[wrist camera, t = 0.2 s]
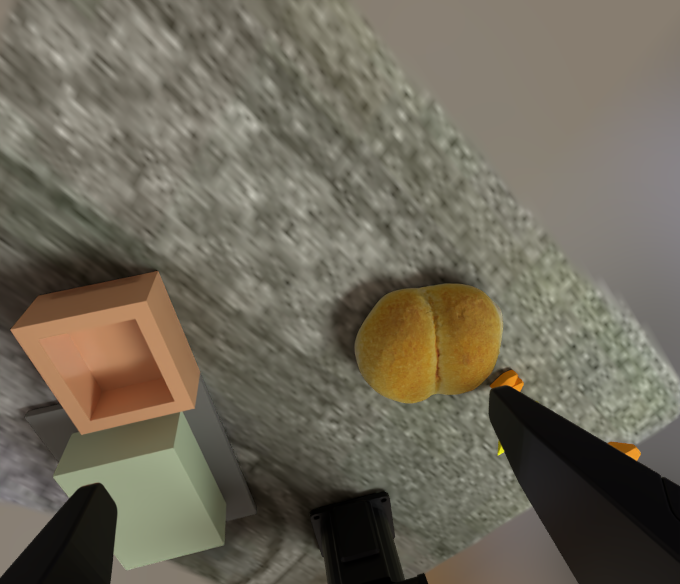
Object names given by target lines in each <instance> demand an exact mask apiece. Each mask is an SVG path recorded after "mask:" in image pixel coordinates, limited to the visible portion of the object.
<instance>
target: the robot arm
mask: <svg viewBox="0 0 680 584" xmlns="http://www.w3.org/2000/svg"><path fill="white" fill-rule="evenodd" d="M489 418H490V422H491V424H492V426H493V428H494V430H495V433H496V435H497V437H498V439H499V441H500V443H501V446H502V448H503V450H504V452H505V454H506V457H507V459H508V461H509V463H510V465H511V467H512V470H513V472H514V474H515V476H516V478H517V480H518V482H519V484H520V486H521V487H522V489H523V491H524V493H525V494H526V496H527V498H528V499H529V501H530V503H531V504H532V506H533V508H534V509H535V511H536V513H537V514H538V516H539V518H540V519H541V521H542V523H543V524H544V526H545V528H546V530H547V531H548V533H549V535H550V536H551V538H552V540H553V541H554V543H555V545H556V546H557V548H558V550H559V551H560V553H561V555H562V556H563V558H564V560H565V561H566V563H567V565H568V566H569V568H570V570H571V572H572V573H573V575H574V577H575V578H576V580H577V582H578V583H579V584H680V486H679V485H677V484H676V483H674V482H672V481H670V480H669V479H667V478H665V477H662V478H661V475H660V474H658V473H657V472H655V471H653V470H651V469H650V468H648V467H647V466H645V465H643V464H641V463H640V462H638V461H636V460H635V459H633V458H631V457H630V456H628V455H626V454H625V453H623V452H621V451H619V450H618V449H616V448H614V447H613V446H611V445H609V444H608V443H606V442H604V441H603V440H601V439H599V438H597V437H596V436H594V435H592V434H591V433H589V432H587V431H586V430H584V429H582V428H580V427H579V426H577V425H575V424H574V423H572V422H570V421H569V420H567V419H565V418H563V417H562V416H560V415H558V414H557V413H555V412H553V411H552V410H550V409H548V408H547V407H545V406H543V405H541V404H540V403H538V402H536V401H535V400H533V399H531V398H530V397H528V396H526V395H524V394H523V393H521V392H519V391H518V390H516V389H514V388H513V387H511V386H508V385H503V386H499V387H495V388H492V389H491V390H490V394H489ZM117 515H118V511H117V506H116V503H115V501H114V500H113V499H112V497H111V496H110V494H109V493H108V491H107V490H106V488H105V487H104V485H103V484H101V483H99V482H98V483H93V484H88V485H84V486H81V487H80V488H78V489H77V490H76V491H75V492H74V494H73V495H72V496H71V497H70V498H69V499H68V500H67V502H66V503H65V504H64V505H63V506H62V507H61V508H60V510H59V511H58V512H57V513H56V514H55V515H54V516H53V518H52V519H51V520H50V521H49V522H48V523H47V525H46V526H45V527H44V528H43V529H42V530H41V531H40V533H39V534H38V535H37V536H36V537H35V538H34V540H33V541H32V542H31V543H30V544H29V545H28V546H27V548H26V549H25V550H24V551H23V552H22V553H21V554H20V556H19V557H18V558H17V559H16V560H15V561H14V562H13V564H12V565H11V566H10V567H9V568H8V569H7V570H6V572H5V573H4V574H3V575H2V576H1V578H0V584H110V581H111V573H112V564H113V554H114V544H115V535H116V525H117ZM310 519H311V523H312V526H313V529H314V532H315V536H316V539H317V542H318V545H319V548H320V552H321V555H322V557H324V561H325V568H326V575H327V582H328V584H428V582H427V579H426V576H425V574H424V573H422V574H419V575H417V577H413V578H410V579H406V580H405V578H404V574H403V571H402V567H401V564H400V560H399V557H398V553H397V550H396V546H395V543H394V538H395V533H394V526H393V519H392V511H391V504H390V498H389V495H388V493H387V492H381V493H377V494H373V495H369V496H365V497H361V498H357V499H354V500H350V501H346V502H342V503H338V504H334V505H330V506H326V507H322V508H319V509H315V510H312V511H311V512H310Z"/></svg>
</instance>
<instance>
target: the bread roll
mask: <svg viewBox="0 0 680 584" xmlns="http://www.w3.org/2000/svg"><path fill="white" fill-rule="evenodd" d="M502 332H503V318H502V312H501V309H500V308H499V306H498V305H497V304H495V303H494V302H493V301H492V300H491V299H490V298H489V297H488V296H487V295H486V294H485V293H484V292H483V291H481V290H479V289H477V288H475V287H473V286H469V285H464V284H450V283H445V284H438V285H434V286H427V287H421V288H406V289H400V290H396V291H393V292H390V293H388V294H386V295H384V296H383V297H382V298H381V299H380V300H379V301H378V302H377V304H376V305H375V306H374V308H373V309H372V310H371V312H370V313H369V314H368V316H367V318H366V319H365V321H364V322H363V324H362V326H361V328H360V329H359V331H358V334H357V337H356V340H355V345H354V346H355V356H356V360H357V364H358V368H359V370H360V372H361V374H362V376H363V377H364V379H365V380H366V382H367V383H368V384H369V385H370V386H371V387H372V388H373V389H374V390H375V391H376V392H378V393H379V394H381V395H383V396H385V397H387V398H389V399H392V400H395V401H399V402H403V403H416V402H420V401H423V400H425V399H427V398H428V397H430V396H431V395H433V394H446V395H454V394H461V393H465V392H468V391H472V390H474V389H475V388H477V387H478V386H479V385H480V384H481V383H482V382H483V381H484V380H485V379H486V378H487V377H488V376H489V375H490V374H491V373H492V371H493V369H494V366H495V364H496V361H497V358H498V354H499V353H500V351H499V349H500V347H501V341H502Z"/></svg>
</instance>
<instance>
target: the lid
mask: <svg viewBox="0 0 680 584" xmlns="http://www.w3.org/2000/svg"><path fill="white" fill-rule="evenodd" d="M53 478H54V479H55V480H56V482H57V483H58V484H59V486H60V487H61V488H62V489H63V491H64V492H65V493H66V494H67V496H68V497H69V498H70V497H71V496H72V495H73V494H74V492H75V491H76V490H77V489H78V488H80V487H81V486H84V485H88V484H93V483H98V482H99V483H101V484H103V485H104V487H105V488H106V490H107V491H108V493H109V494H110V496H111V497H112V499H113V500H114V501H115V503H116V506H117V511H118V515H117V525H116V535H115V544H114V555H115V556H116V558H117V559H118V560H119V562H120V563H121V564H122V565H123V567H124V568H125V569H126V570H130V569H133V568H137V567H141V566H145V565H149V564H153V563H157V562H160V561H164V560H168V559H172V558H176V557H180V556H184V555H188V554H191V553H195V552H199V551H203V550H207V549H211V548H215V547H218V546H222V545H224V542H225V522H226V502H225V500H224V498H223V496H222V494H221V492H220V490H219V488H218V485H217V483H216V481H215V479H214V477H213V475H212V473H211V471H210V469H209V466H208V464H207V462H206V460H205V458H204V456H203V454H202V452H201V450H200V448H199V445H198V443H197V441H196V439H195V437H194V435H193V433H192V431H191V429H190V426H189V424H188V422H187V420H186V418H185V416H184V414H183V412H177V413H173V414H169V415H165V416H160V417H156V418H152V419H147V420H143V421H139V422H134V423H130V424H126V425H122V426H117V427H113V428H109V429H104V430H100V431H96V432H92V433H87V434H83V435H81V433H80V432H77V433H73V434H72V435H71V437H70V439H69V441H68V444H67V446H66V448H65V450H64V453H63V455H62V457H61V459H60V461H59V464H58V466H57V468H56V470H55V473H54V475H53Z"/></svg>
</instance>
